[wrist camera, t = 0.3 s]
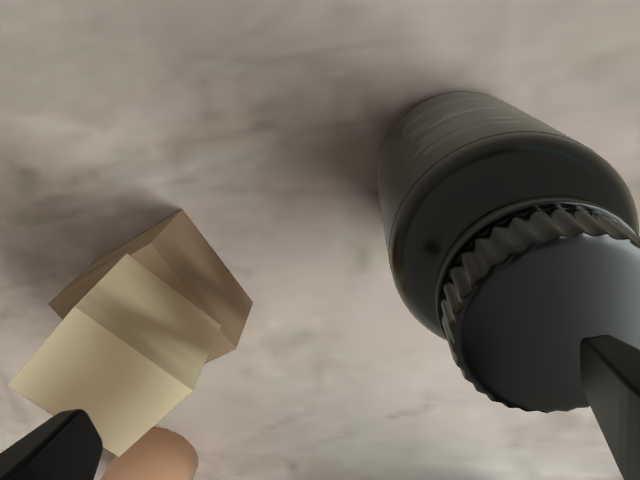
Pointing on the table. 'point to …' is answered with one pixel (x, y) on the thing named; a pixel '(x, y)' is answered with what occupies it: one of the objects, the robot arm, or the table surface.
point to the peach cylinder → (155, 458)
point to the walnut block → (176, 277)
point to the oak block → (121, 355)
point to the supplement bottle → (509, 245)
